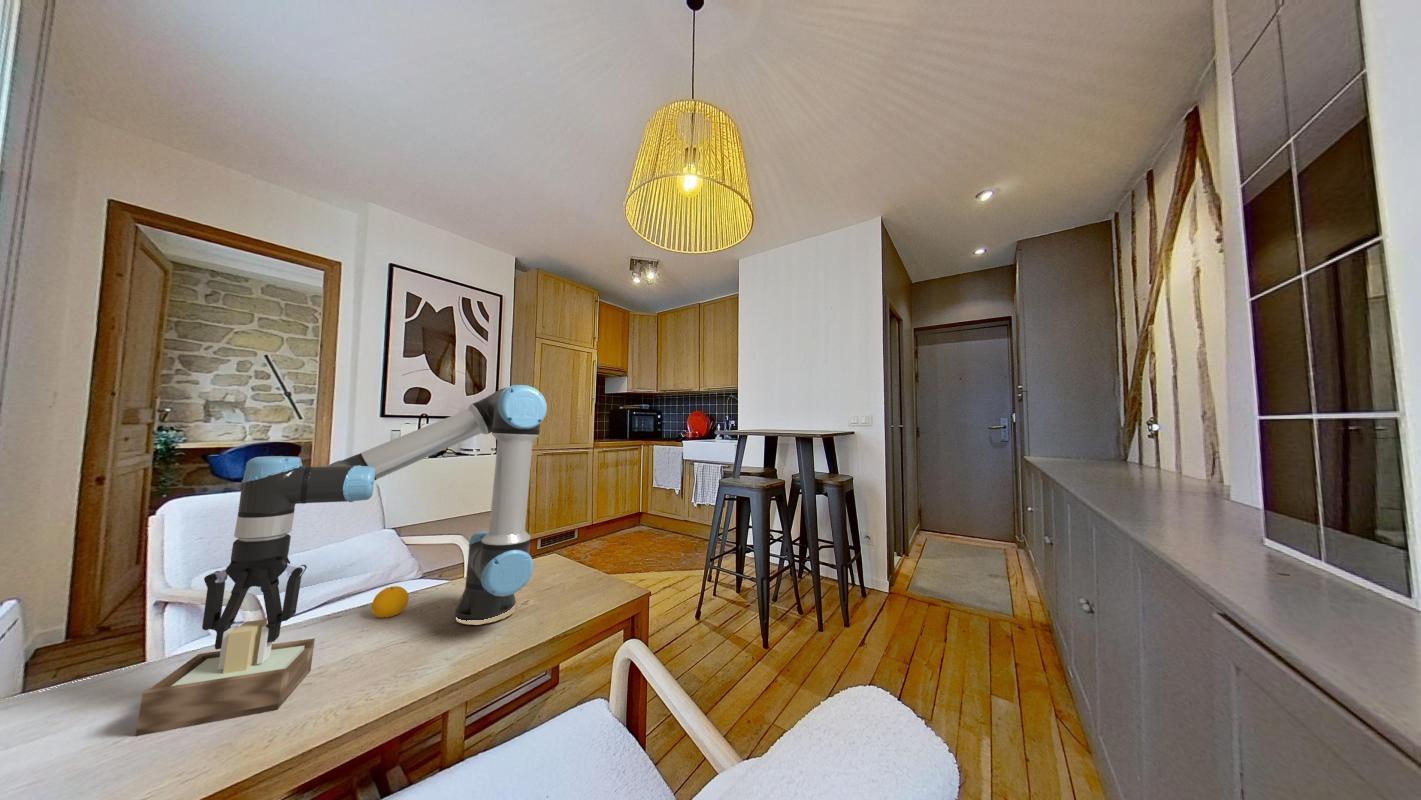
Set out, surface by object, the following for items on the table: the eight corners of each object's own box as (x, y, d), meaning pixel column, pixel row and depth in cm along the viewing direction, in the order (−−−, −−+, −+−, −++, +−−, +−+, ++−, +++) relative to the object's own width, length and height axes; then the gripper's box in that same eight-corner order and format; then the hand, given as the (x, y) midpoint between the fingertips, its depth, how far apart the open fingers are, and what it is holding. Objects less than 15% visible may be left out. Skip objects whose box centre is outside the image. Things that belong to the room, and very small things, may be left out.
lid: (304, 649, 83) (309, 610, 83) (279, 675, 74) (285, 631, 75) (206, 663, 77) (213, 620, 77) (166, 693, 68) (174, 645, 69)
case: (310, 670, 84) (314, 638, 85) (277, 709, 72) (282, 671, 73) (192, 689, 77) (198, 653, 77) (135, 736, 65) (142, 693, 66)
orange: (410, 607, 115) (413, 580, 116) (402, 619, 108) (405, 590, 109) (376, 610, 112) (379, 583, 113) (365, 623, 105) (369, 593, 106)
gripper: (330, 529, 85) (314, 644, 83) (212, 534, 77) (191, 661, 75) (314, 537, 78) (297, 663, 76) (183, 544, 71) (160, 684, 68)
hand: (244, 662), depth 75 cm, fingers open, 4 cm apart
